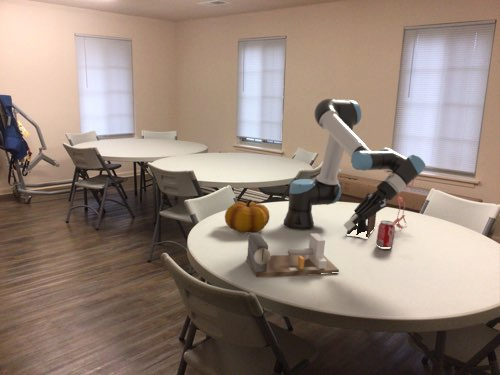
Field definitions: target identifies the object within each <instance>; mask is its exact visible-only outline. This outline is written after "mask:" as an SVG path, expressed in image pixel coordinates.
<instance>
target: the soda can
mask: <svg viewBox="0 0 500 375" xmlns="http://www.w3.org/2000/svg"><path fill="white" fill-rule="evenodd" d="M393 222H394V221H391V220H380V222H379V223H378V226H377V227H378V228H377V234H376V235H377V236H376V244H377V245H378V246H380V247H392V248H393V247H394V246H393V245H394V239H395V232H396V225H395V226H394V223H393ZM377 245H376V246H377Z"/></svg>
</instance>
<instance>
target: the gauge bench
mask: <svg viewBox="0 0 500 375" xmlns="http://www.w3.org/2000/svg"><path fill="white" fill-rule="evenodd" d="M299 256H302V257H303V258H304V269H300V268H299V267H298V257H299ZM323 258H324V259H325V260H326V261H327V266H326V268H323V269H319V268H318V267H317V266H315V265H314V264H313V263H312V262H311V261H310V259H309V258H308V255H289V254H281V255H280V254H278V255H277V254H276V255H274V254H273V255H271V252H270V251H269V245H268V243H267V241H266V240H265V239H264V238H263V236H262V235H261V234H260V232H258V233H251V232H248V242H247V256H246V261H247V263H248V265H249V267H250V268H251V270H252V272H253V274H254V275H255V278H262V277H266V278H267V277H289V276H291V277H293V276H308V275H309V274H317V275H322V274H321V273H332V272H340V269H339V268H338V267H336V266H335V264H333V262H331V261H330V260H329V259H328V258H327V257H326V256H325V255H324V257H323ZM309 276H310V275H309Z"/></svg>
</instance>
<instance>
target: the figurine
mask: <svg viewBox="0 0 500 375" xmlns="http://www.w3.org/2000/svg"><path fill="white" fill-rule="evenodd" d="M414 181H415V179H413V180H412V181H411V183H409V184H408V185H407V186H411V187H413V184H414ZM401 193H402V191H401V192H400V193H398V194H399V195H398V197H397V199H396V200H397V202H398V206H399V209H398V213H397V218H396V219H395V220H394V221H392V222H393V223H394V226H395V227H396V225H398V227H399V228H400V227H401V224H400V222H401V221H402V220H403V221H404V224H405V223H406V224H407V221H406V219H405V216H406V215H405V214H404V212H405V209H406V204H405V202H404V200H403V197H401ZM400 203H403V204H404V205H403V210H402V215H401V216H400V218H399V214H400V211H401V204H400ZM397 222H398V223H397Z"/></svg>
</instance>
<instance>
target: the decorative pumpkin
mask: <svg viewBox="0 0 500 375" xmlns="http://www.w3.org/2000/svg"><path fill="white" fill-rule="evenodd" d="M224 220H225V224H226V226H228V227H229V228H230V229H232V230H234V231H238V232H240V233H242V234H249V233H260V232H261V231H262V230H264V229H265V227H266V226H267V224H268V223H269V221H270V211H269V209H268V207H267V206H266V205H264V204H260V203H255V201H252V199H249V201H247V202H244V201H236V202H234V204H232V205H230V206H229V207H228V208H227V210H226V211H225V214H224Z"/></svg>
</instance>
